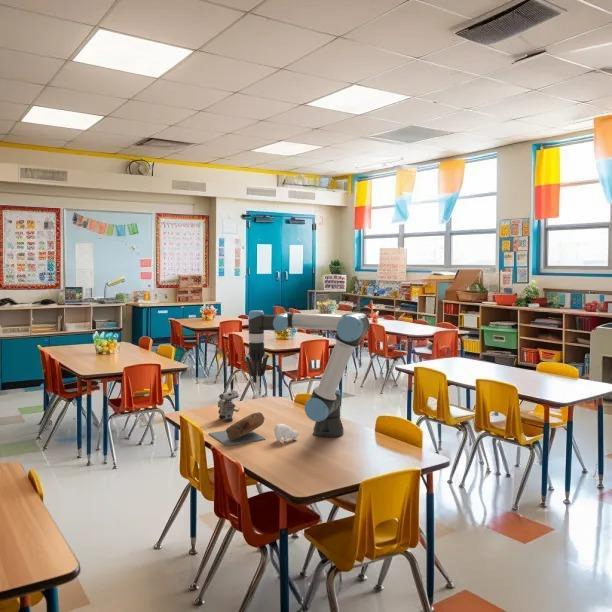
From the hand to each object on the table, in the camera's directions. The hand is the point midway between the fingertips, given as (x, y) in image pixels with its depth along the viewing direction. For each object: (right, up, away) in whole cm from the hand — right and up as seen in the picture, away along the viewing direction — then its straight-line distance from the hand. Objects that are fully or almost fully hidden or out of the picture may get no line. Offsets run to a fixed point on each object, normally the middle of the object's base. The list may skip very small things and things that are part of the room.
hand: (257, 388), depth 296 cm
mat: (-10, -23, -4) cm, 25 cm away
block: (0, -16, +3) cm, 16 cm away
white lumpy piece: (+15, -24, -10) cm, 30 cm away
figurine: (-17, -21, +28) cm, 39 cm away
